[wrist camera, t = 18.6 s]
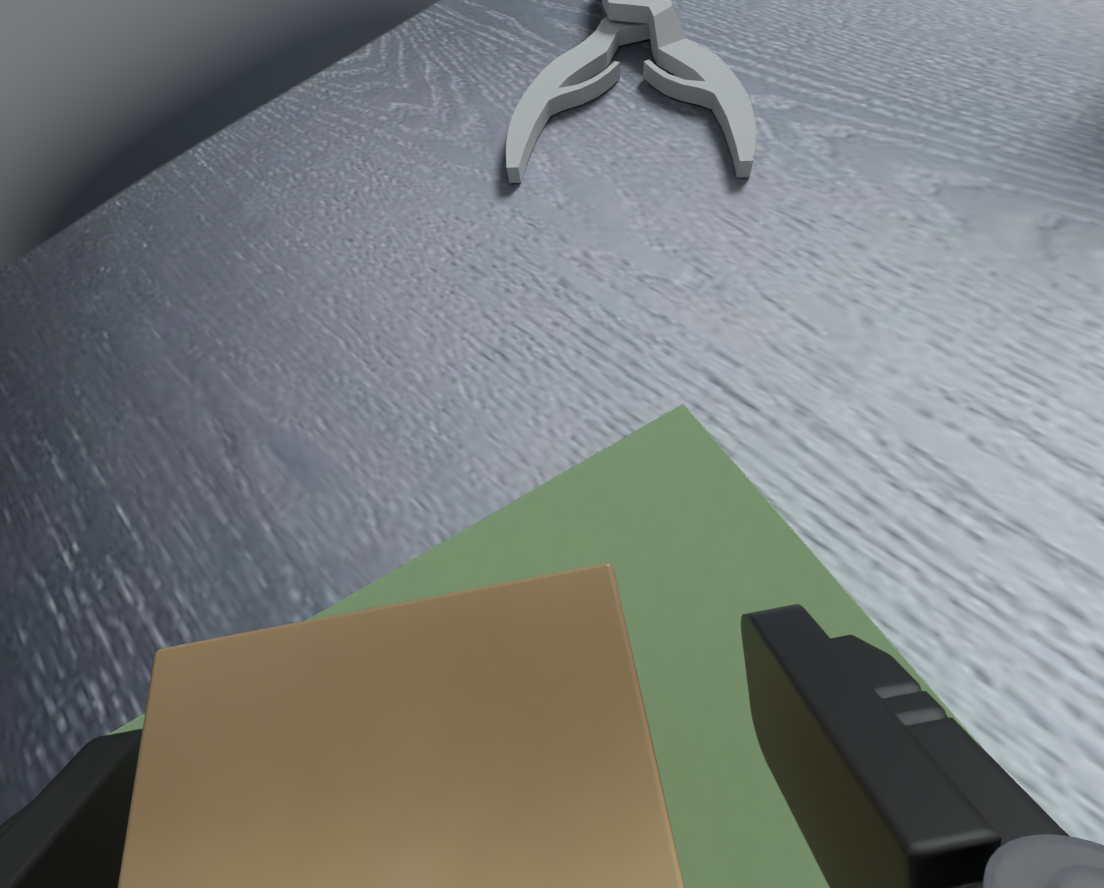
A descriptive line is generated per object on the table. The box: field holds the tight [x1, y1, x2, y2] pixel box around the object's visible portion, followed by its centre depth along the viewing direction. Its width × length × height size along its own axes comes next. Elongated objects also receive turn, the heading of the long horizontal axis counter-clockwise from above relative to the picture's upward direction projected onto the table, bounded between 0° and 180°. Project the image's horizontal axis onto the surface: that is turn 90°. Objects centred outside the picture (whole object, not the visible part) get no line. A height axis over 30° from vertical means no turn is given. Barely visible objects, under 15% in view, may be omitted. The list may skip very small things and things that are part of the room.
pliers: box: [506, 0, 756, 183], centre depth 27 cm, size 10×2×15 cm
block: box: [118, 563, 685, 888], centre depth 9 cm, size 4×4×10 cm
